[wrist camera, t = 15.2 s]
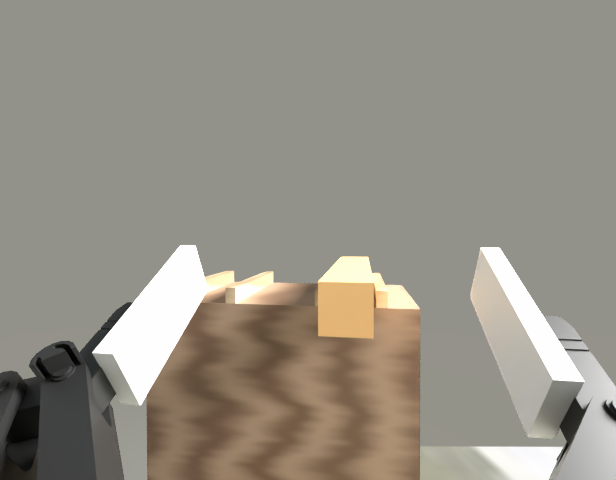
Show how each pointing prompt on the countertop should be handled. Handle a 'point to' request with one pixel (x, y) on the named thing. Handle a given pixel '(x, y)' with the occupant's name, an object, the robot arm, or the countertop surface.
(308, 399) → the brown patterned box
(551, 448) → the countertop surface
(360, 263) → the bar
